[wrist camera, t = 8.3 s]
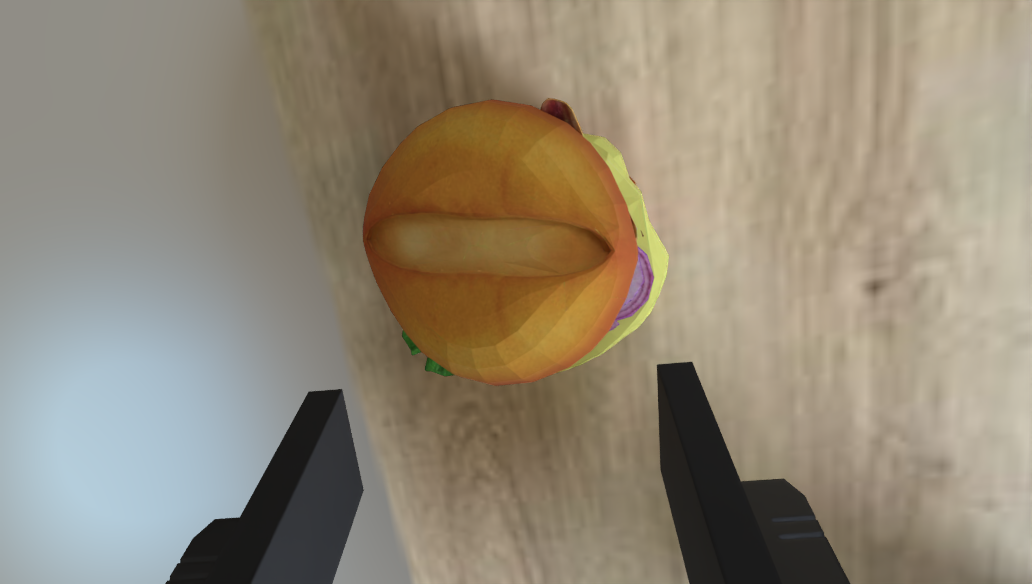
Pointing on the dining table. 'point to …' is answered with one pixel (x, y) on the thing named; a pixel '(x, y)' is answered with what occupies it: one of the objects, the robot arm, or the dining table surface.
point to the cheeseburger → (511, 242)
